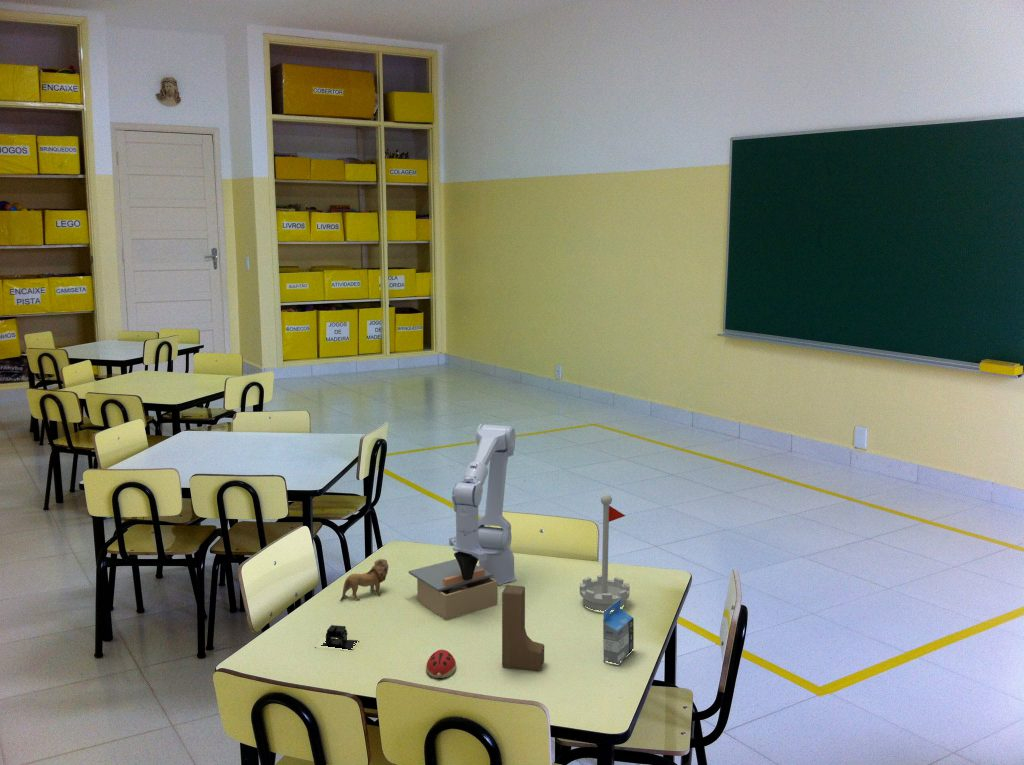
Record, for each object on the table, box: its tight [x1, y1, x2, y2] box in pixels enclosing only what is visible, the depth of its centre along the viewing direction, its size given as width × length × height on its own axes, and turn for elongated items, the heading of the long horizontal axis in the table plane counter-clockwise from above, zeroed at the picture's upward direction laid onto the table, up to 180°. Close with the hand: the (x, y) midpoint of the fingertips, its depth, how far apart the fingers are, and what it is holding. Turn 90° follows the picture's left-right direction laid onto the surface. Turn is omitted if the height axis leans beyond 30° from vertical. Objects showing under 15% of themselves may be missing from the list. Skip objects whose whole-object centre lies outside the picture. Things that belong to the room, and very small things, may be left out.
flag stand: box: [579, 493, 631, 611], centre depth 232 cm, size 13×13×30 cm
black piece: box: [321, 624, 360, 650], centre depth 211 cm, size 12×7×5 cm, turn 80°
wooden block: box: [501, 584, 545, 671], centre depth 200 cm, size 9×4×18 cm, turn 78°
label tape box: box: [602, 599, 635, 665], centre depth 204 cm, size 9×4×12 cm, turn 148°
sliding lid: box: [408, 558, 493, 592], centre depth 236 cm, size 17×15×2 cm
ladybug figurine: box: [425, 648, 457, 679], centre depth 199 cm, size 7×10×4 cm
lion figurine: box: [339, 558, 389, 602], centre depth 238 cm, size 15×5×9 cm, turn 130°
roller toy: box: [445, 584, 468, 594], centre depth 234 cm, size 4×6×6 cm
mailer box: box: [416, 577, 499, 621], centre depth 234 cm, size 16×14×6 cm
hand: (467, 579), depth 229 cm, fingers closed
